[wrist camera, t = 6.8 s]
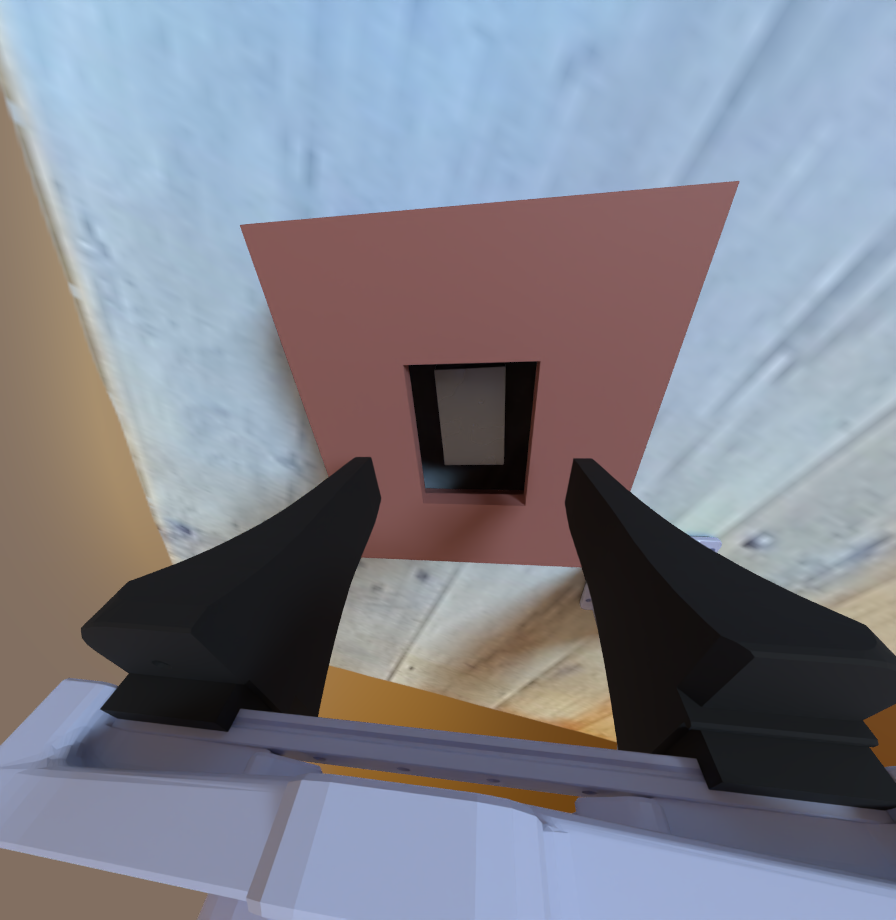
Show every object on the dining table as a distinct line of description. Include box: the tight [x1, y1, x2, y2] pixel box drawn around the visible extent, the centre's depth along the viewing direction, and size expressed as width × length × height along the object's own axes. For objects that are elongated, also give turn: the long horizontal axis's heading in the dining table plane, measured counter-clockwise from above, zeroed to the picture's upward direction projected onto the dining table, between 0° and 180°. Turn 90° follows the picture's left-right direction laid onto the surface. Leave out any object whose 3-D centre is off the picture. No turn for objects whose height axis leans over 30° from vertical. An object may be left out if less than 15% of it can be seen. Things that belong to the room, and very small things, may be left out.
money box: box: [240, 181, 739, 567], centre depth 16 cm, size 16×14×6 cm
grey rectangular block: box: [434, 362, 506, 465], centre depth 16 cm, size 5×3×4 cm, turn 5°
